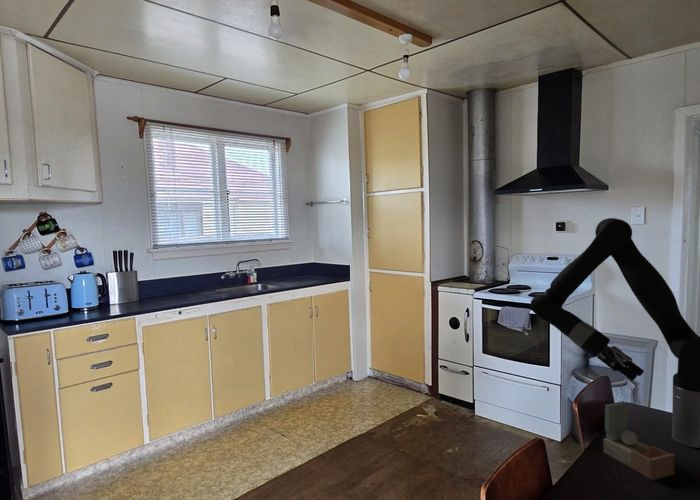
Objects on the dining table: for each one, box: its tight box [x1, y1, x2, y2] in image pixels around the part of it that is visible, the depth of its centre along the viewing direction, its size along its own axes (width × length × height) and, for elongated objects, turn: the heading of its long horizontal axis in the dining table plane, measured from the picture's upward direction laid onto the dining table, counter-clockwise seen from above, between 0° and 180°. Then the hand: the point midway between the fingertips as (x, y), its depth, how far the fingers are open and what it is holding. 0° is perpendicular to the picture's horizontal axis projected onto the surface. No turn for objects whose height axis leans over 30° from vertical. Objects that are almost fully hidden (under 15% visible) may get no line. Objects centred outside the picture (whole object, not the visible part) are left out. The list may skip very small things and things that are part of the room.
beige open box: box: [602, 437, 651, 468], centre depth 126 cm, size 8×9×4 cm
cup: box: [630, 445, 676, 481], centre depth 119 cm, size 8×6×6 cm
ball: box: [621, 429, 638, 445], centre depth 126 cm, size 4×4×4 cm
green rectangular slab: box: [604, 400, 629, 441], centre depth 129 cm, size 7×2×10 cm, turn 107°
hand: (638, 376), depth 127 cm, fingers open, 8 cm apart
